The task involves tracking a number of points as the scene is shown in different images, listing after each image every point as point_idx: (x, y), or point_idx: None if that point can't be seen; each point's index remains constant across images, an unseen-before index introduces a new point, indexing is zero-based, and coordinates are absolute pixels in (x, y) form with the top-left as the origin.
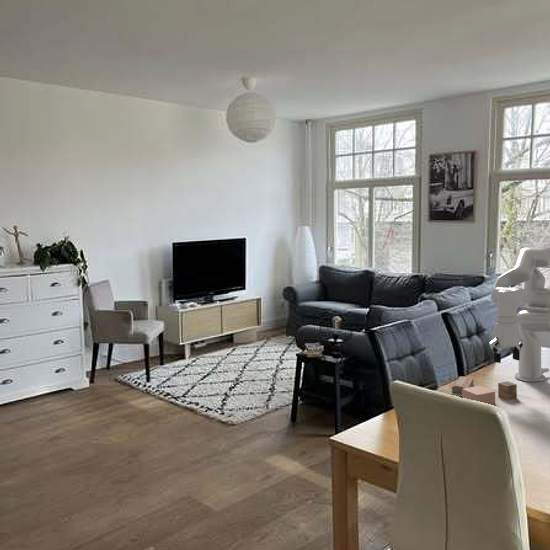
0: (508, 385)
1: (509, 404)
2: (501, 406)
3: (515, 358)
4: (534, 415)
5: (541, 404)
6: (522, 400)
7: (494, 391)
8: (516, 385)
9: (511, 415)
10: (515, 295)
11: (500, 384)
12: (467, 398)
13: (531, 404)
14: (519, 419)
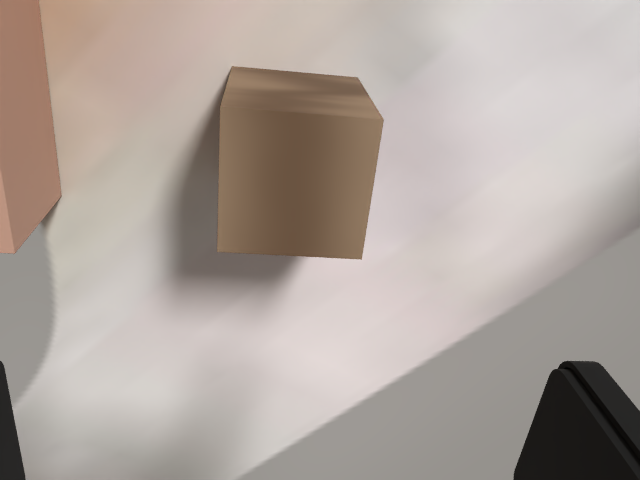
0: (250, 242)
1: (163, 266)
2: (65, 268)
3: (542, 449)
4: (153, 470)
5: (372, 369)
6: None
7: (8, 248)
8: (356, 253)
9: None
10: None
11: (219, 144)
12: None
13: (313, 340)
14: None
